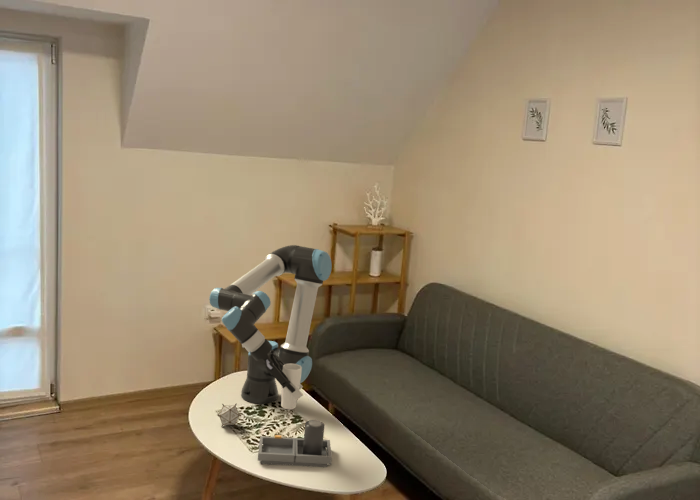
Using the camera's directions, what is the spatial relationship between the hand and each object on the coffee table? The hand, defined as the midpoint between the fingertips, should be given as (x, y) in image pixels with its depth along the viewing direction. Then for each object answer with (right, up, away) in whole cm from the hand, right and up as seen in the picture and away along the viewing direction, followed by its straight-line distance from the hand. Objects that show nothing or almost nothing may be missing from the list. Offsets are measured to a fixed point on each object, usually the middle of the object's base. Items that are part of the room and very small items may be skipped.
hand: (299, 393), depth 230 cm
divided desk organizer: (-1, -20, -6) cm, 21 cm away
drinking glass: (-4, -5, +1) cm, 7 cm away
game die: (-27, -15, +11) cm, 33 cm away
